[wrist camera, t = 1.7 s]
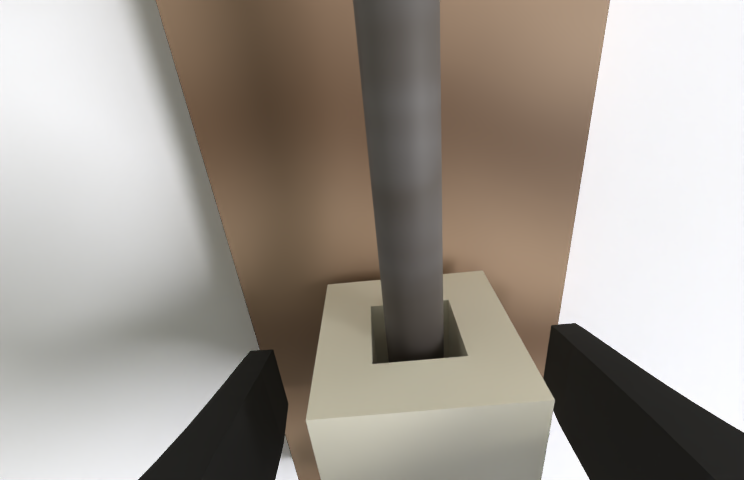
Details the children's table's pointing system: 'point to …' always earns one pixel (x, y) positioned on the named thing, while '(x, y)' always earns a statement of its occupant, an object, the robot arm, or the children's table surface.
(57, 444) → the children's table surface
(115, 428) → the children's table surface
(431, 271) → the rod board
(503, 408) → the sleeve
